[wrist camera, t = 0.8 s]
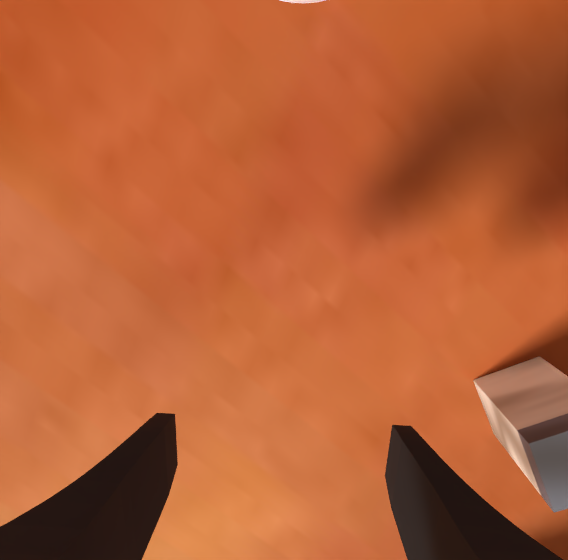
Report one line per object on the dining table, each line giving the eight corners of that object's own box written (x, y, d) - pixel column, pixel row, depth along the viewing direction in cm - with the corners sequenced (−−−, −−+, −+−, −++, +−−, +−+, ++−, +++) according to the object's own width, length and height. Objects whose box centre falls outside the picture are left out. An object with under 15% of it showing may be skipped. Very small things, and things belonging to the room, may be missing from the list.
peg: (558, 412, 23) (642, 486, 17) (493, 434, 24) (553, 512, 18) (539, 356, 22) (620, 413, 17) (473, 379, 23) (528, 443, 17)
